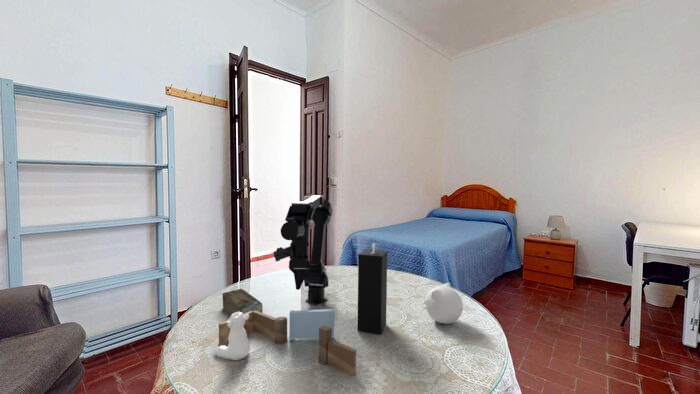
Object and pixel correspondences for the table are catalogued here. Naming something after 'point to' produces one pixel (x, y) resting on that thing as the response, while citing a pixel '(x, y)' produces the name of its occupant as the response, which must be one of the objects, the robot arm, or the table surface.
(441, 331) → the table surface
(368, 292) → the black pillar candle
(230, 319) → the sitting furry creature
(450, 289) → the cat head
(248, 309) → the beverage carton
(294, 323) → the gate
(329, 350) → the pen fence
